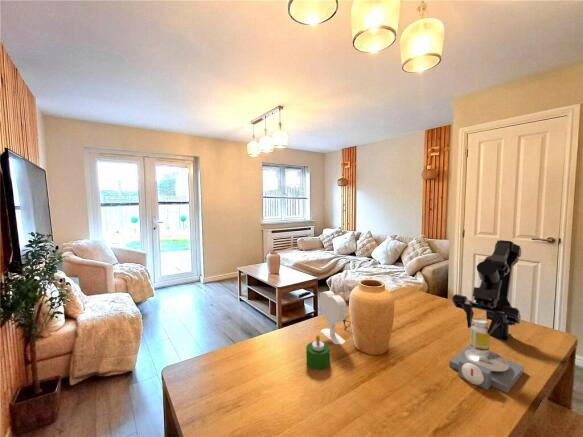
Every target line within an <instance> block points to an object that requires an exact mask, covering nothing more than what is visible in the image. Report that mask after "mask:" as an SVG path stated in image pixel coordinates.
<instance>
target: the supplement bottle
mask: <svg viewBox="0 0 583 437" xmlns="http://www.w3.org/2000/svg"><path fill="white" fill-rule="evenodd" d="M488 330H489V327H488V320H487V319H484V318H480V317H474V318H472V323H471V326H470V328H469V345H470V347H471V348H472V349H474V350H476V351H479V352H488V351H490V336H491V335H490V334H488Z"/></svg>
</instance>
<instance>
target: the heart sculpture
mask: <svg viewBox="0 0 583 437" xmlns="http://www.w3.org/2000/svg"><path fill="white" fill-rule="evenodd" d="M319 305H320V309H321V312H322V314H323V316H324V318H325V320H326V322H327V324H328V326H329V328H323V329H321V330H320V332H321V333H322V334H323V335H324V336H325V337H326V338H328V339H329V341H331V342H332V343H333V344H335V345H342V344H344V343H345V342H346V340H345V339H344V338H342V336H340V335H339V334H337V333H336V324H338V323H341V322H343V320H344V319H345V318H346V317H347V312H348V307H347V303H346V300H345V299H344V298H343V297H342V296H340V295H338V294H337V295H336V294H335V293H334V291H331V290H328V291H327V290H326V291H322V292H320V293H319Z"/></svg>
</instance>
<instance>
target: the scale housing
mask: <svg viewBox="0 0 583 437" xmlns="http://www.w3.org/2000/svg"><path fill="white" fill-rule="evenodd" d="M468 349H472V348H471V347H470V344H469V345H467V347H465V348H463V350H461V351H460V352H458V354H456V355H454V357H452V358H451V359H450V360H449V367H450V368H452V369H454V370H457V371H458V374H457V376H458V377H459V378H462V379H463V380H466V381H468V382H469V383H471V384H473V385H477V386H478V387H481V388H482V389H485V390H487V391H488V390H489V389H490V387H493V388H494V389H497V390H498V391H502V392H503V393H506V394H508V393H509V392H510V391H511V389H512V388H513V387H514V385H515V384H516V383H517V382H518V380H519V378H520V377H521V376H522V375H523V374H524V372H525V365H523V364H520V363H517V362H514V361H511V360H509V359H507V358H505V359H506V360H507V361H508V363H509V370H508V371H506V372H492V370H490V369H488V368H485V367H483V366H481V365H478V364H476V363H474V362H471V361H469V360H467V359H466V358H465V351H466V350H468Z"/></svg>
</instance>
